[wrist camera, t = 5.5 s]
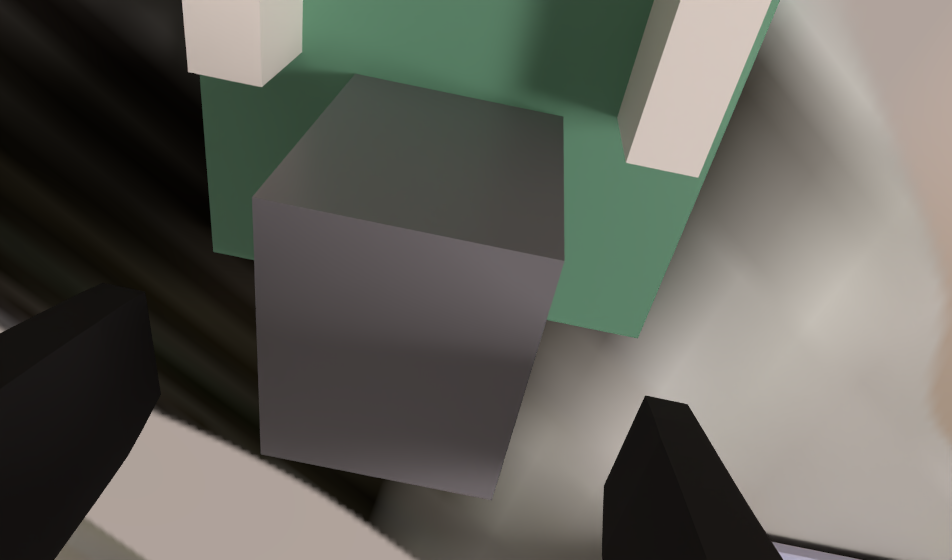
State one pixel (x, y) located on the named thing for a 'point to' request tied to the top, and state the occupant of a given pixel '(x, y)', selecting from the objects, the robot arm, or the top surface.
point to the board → (506, 82)
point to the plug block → (406, 283)
